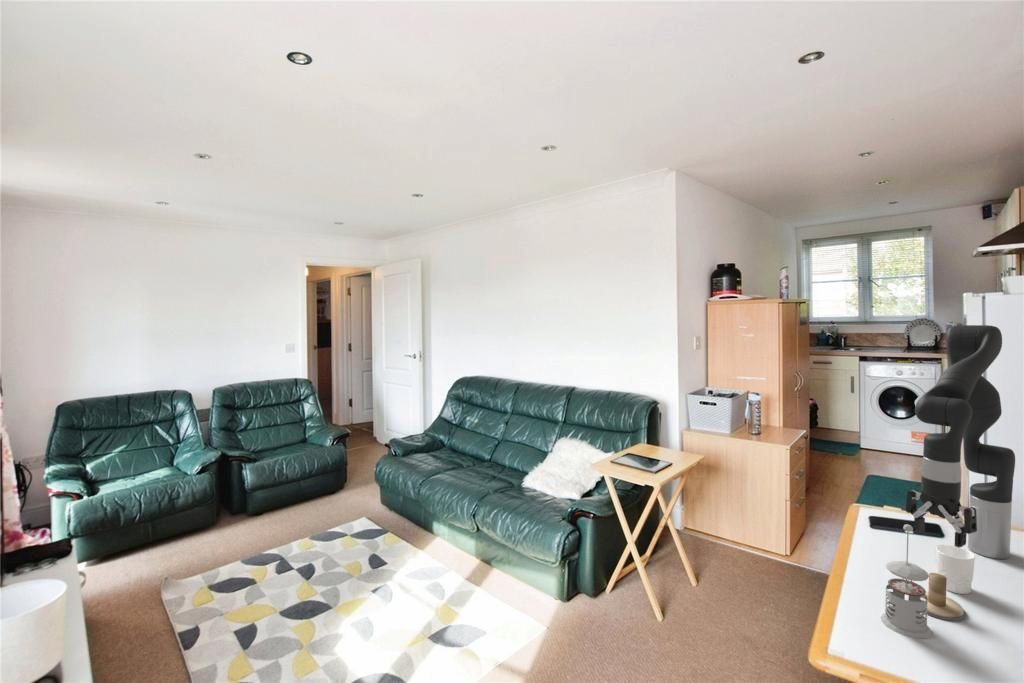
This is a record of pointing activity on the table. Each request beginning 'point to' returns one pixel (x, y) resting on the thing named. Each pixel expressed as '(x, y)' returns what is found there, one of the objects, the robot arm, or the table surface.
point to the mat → (949, 618)
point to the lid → (941, 598)
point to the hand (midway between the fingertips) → (938, 539)
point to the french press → (906, 612)
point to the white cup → (955, 567)
